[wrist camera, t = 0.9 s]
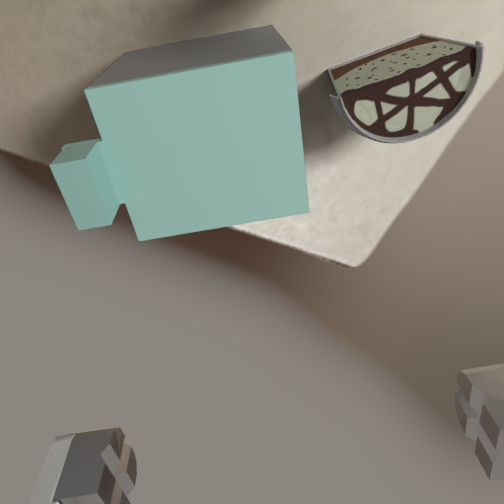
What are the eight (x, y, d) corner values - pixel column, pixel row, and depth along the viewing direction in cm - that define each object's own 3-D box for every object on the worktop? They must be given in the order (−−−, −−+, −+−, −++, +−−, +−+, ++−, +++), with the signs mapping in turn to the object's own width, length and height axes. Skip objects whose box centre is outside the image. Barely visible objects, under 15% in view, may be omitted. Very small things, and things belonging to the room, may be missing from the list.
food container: (327, 132, 47) (350, 168, 38) (312, 74, 43) (333, 101, 35) (443, 91, 45) (493, 120, 37) (437, 28, 42) (490, 44, 33)
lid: (44, 95, 30) (21, 112, 26) (291, 49, 29) (300, 60, 26) (105, 242, 36) (93, 270, 33) (307, 207, 36) (316, 233, 32)
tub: (125, 52, 41) (87, 87, 30) (271, 24, 41) (291, 49, 29) (160, 169, 48) (140, 236, 36) (286, 147, 47) (307, 207, 36)
